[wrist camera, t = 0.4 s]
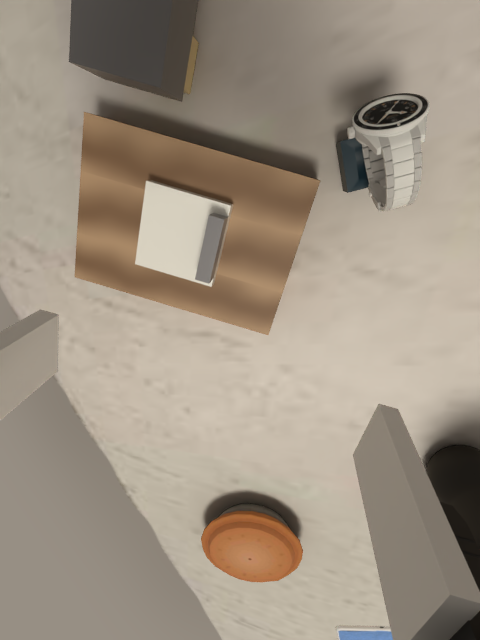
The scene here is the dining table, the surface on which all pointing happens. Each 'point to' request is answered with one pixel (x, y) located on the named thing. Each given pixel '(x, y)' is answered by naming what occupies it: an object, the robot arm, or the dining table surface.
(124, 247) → the socket board
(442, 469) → the cola bottle
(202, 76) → the dining table surface
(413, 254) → the dining table surface
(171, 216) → the plate
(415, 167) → the watch
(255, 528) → the pie
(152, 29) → the plug
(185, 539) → the dining table surface
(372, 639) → the blue notebook
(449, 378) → the dining table surface
